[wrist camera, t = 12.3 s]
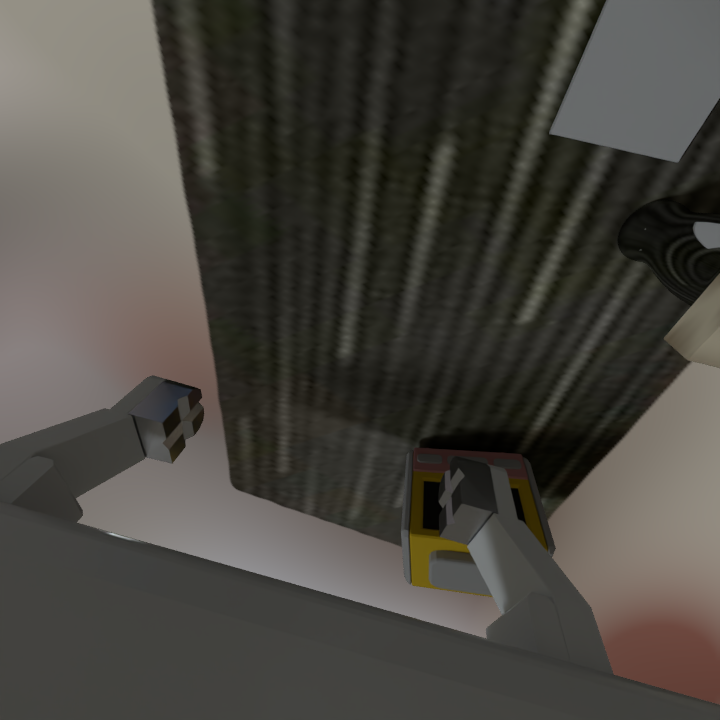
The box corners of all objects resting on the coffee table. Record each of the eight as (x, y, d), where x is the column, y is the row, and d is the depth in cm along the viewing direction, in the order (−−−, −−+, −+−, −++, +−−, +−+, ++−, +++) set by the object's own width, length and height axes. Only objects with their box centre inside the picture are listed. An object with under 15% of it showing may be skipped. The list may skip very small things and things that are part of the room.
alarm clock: (527, 443, 54) (564, 562, 40) (513, 501, 63) (539, 616, 48) (407, 437, 58) (399, 542, 44) (409, 492, 67) (403, 595, 52)
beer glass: (693, 181, 32) (854, 212, 20) (692, 248, 35) (830, 311, 23) (609, 213, 35) (705, 257, 22) (615, 273, 38) (702, 341, 26)
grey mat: (631, -58, 25) (635, -62, 24) (793, -25, 24) (801, -28, 24) (548, 133, 32) (550, 133, 31) (674, 161, 31) (677, 162, 31)
